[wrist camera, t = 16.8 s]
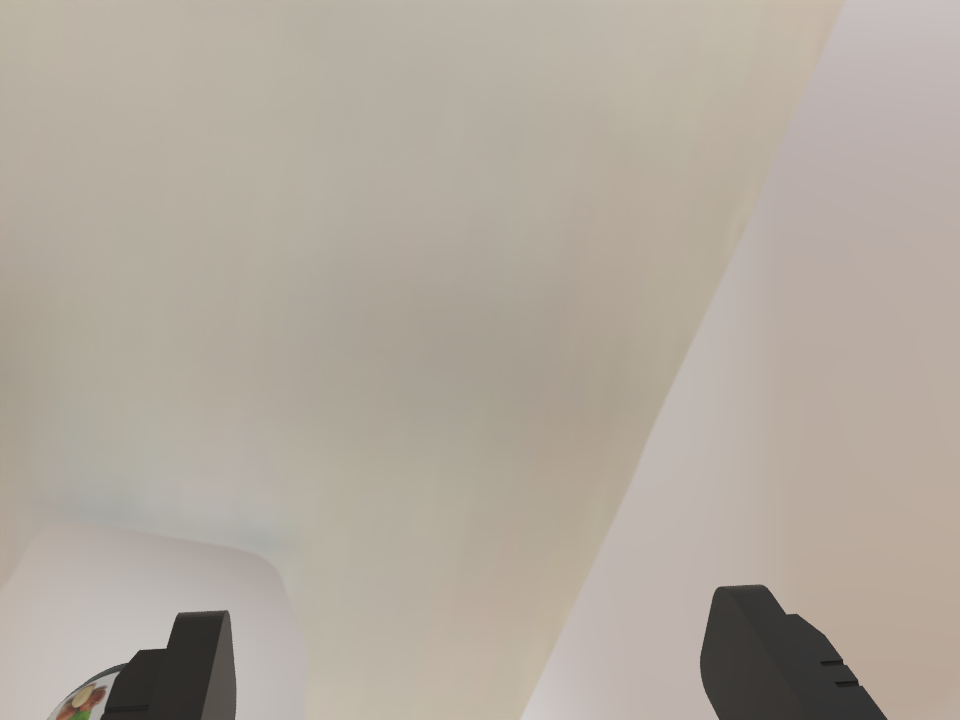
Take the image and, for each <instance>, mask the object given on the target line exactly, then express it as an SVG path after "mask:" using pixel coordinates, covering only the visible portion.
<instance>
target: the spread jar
mask: <svg viewBox="0 0 960 720" xmlns="http://www.w3.org/2000/svg"><path fill="white" fill-rule="evenodd" d="M127 664H128V663H125V664H121V665H117V666H114V667H112V668H110V669H107V670H105V671H103V672H101V673H99V674H97V675H96V676H94V677H92V678H91V679H89V680H88V681H87V682H85V683H84V684H83V685H81V686H80V687H79V688H77V689H76V690H75V691H73V692H72V693H71V694H70V695H69V696H67V698H65V699H64V700H63V701H62V702H61V703H60V704H59V705H58V706H57V707H56V708H55V710H54V711H53V712H52V713H51V715H50V716H49V718H48V719H47V720H100V718H101V716H102V714H104V707H105V705H106V702H107V699H108V696H109V694H110V691H111V688H112V685H113V683H114V680H115V677H116V676H117V675H118V674H119V673H120V672H121V671H122V669H123V668H124V667H125V666H126V665H127Z"/></svg>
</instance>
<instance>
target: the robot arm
mask: <svg viewBox="0 0 960 720" xmlns="http://www.w3.org/2000/svg"><path fill="white" fill-rule="evenodd" d="M700 669H701V677H702V682H703V686H704V689H705V692H706V694H707V696H708V698H709V700H710V702H711V704H712V706H713V708H714V710H715V712H716V714H717V716H718V718H719V720H887V718H886V717H885V716H884V714H883V713H882V712H881V710H880V709H879V707H878V706H877V705H876V704H875V702H874V701H873V699H872V698H871V697H870V695H869V694H868V693H867V691H866V690H865V689H864V687H863V686H859V683H858V679H857V678H856V677H855V675H854V674H853V673H852V671H851V670H850V669H849V667H848V666H847V665H844V664H843V659H842V658H841V656H840V655H839V654H838V653H837V651H836V650H835V648H834V647H833V646H832V644H831V643H830V642H829V640H828V639H827V638H826V636H825V635H824V634H822V633H821V632H820V631H818V630H817V629H816V628H815V627H813V626H812V625H811V624H809V623H808V622H807V621H805V620H804V619H803V618H802V617H800V616H799V615H797V614H788V615H786V613H785V612H784V610H783V609H782V608H781V607H780V605H779V603H778V602H777V600H776V599H775V598H774V596H773V595H772V593H771V592H770V591H769V590H768V588H766V587H765V586H763V585H742V586H723V587H718V588H717V589H716V591H715V593H714V596H713V599H712V604H711V609H710V614H709V618H708V623H707V627H706V633H705V637H704V642H703V646H702V651H701V657H700ZM235 714H236V677H235V667H234V655H233V644H232V632H231V622H230V615H229V612H228V611H227V610H224V611H206V612H185V613H178V615H177V617H176V619H175V622H174V625H173V628H172V632H171V635H170V638H169V642H168V645H167V648H166V649H152V650H140V651H138V652H137V654H136V655H135V656H134V657H133V658H132V659H131V660H130V662H129V663H128V664H127V665H126V666H125V667H124V668H123V669H122V671H121V672H120V673H119V674H118V675H117V676H116V677H115V680H114V683H113V685H112V688H111V691H110V694H109V696H108V699H107V702H106V705H105V707H104V714H102V716H101V718H100V720H235Z"/></svg>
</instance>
